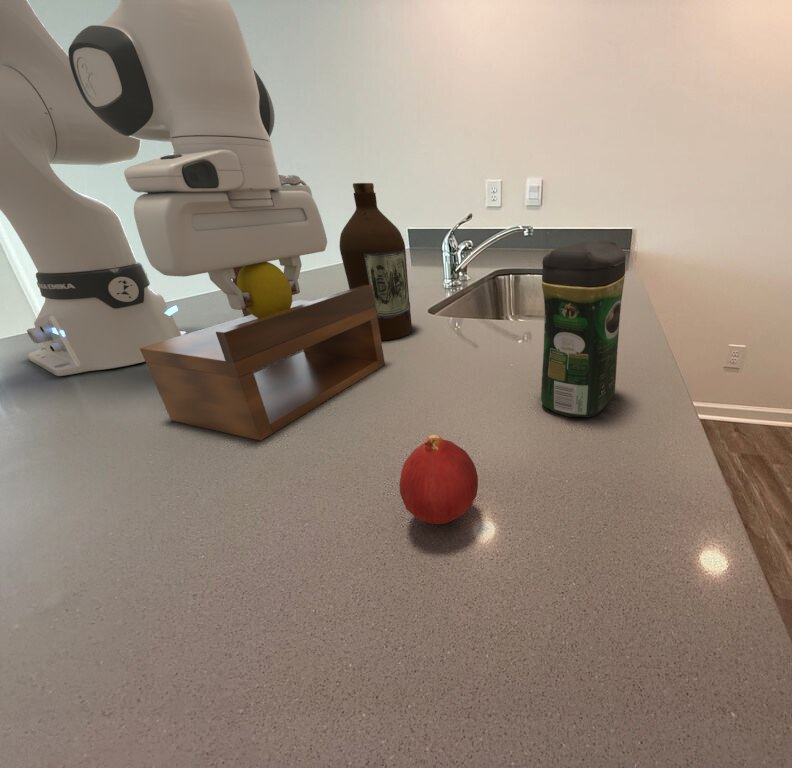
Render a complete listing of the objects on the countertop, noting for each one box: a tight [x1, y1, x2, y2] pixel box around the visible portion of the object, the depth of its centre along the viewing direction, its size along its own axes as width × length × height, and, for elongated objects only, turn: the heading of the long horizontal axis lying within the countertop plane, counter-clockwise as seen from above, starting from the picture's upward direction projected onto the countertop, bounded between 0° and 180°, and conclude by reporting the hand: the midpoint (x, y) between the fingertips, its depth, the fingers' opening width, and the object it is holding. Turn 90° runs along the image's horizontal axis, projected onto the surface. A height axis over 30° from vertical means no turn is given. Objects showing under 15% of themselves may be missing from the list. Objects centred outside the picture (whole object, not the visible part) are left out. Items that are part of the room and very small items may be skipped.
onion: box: [398, 434, 479, 525], centre depth 30 cm, size 6×6×8 cm
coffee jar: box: [540, 239, 627, 418], centre depth 46 cm, size 10×8×19 cm
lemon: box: [237, 261, 293, 318], centre depth 49 cm, size 6×6×8 cm
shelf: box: [140, 285, 386, 442], centre depth 52 cm, size 14×22×12 cm, turn 160°
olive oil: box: [339, 182, 413, 342], centre depth 70 cm, size 11×11×25 cm
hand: (268, 301), depth 49 cm, fingers closed on lemon, 6 cm apart
